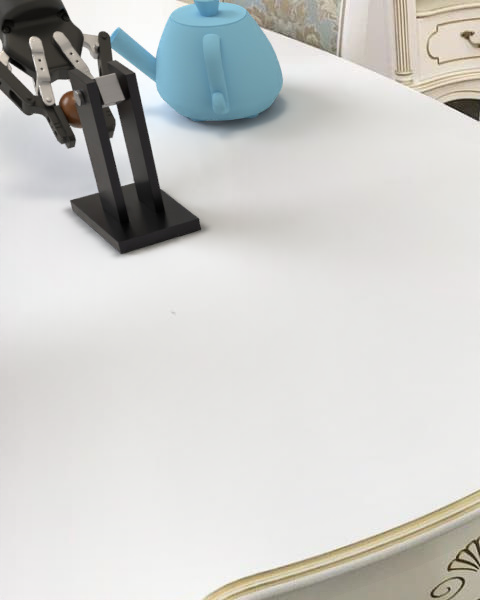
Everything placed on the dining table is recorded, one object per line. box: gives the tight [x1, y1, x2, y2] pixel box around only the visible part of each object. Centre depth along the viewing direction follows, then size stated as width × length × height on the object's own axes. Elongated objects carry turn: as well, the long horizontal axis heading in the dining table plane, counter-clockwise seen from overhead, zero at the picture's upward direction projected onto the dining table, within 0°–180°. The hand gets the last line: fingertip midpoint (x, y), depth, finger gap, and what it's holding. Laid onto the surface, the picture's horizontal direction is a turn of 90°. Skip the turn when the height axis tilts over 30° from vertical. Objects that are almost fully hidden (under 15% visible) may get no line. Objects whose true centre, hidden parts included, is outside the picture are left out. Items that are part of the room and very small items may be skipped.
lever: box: [58, 73, 125, 129], centre depth 112 cm, size 14×4×4 cm, turn 39°
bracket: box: [68, 59, 202, 254], centre depth 112 cm, size 12×9×15 cm
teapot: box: [110, 0, 284, 123], centre depth 134 cm, size 20×20×13 cm
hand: (91, 138), depth 117 cm, fingers closed on lever, 3 cm apart
